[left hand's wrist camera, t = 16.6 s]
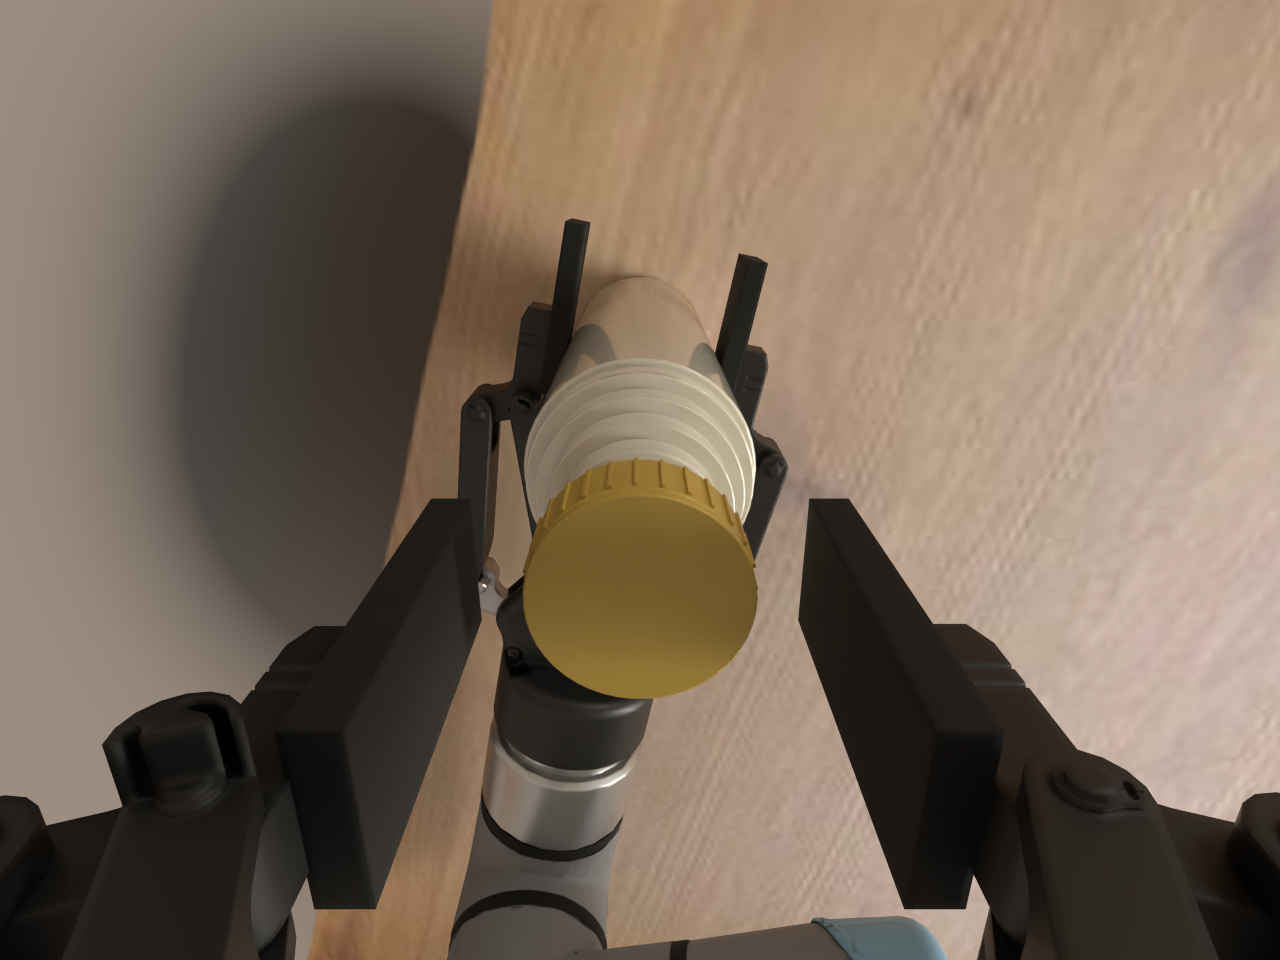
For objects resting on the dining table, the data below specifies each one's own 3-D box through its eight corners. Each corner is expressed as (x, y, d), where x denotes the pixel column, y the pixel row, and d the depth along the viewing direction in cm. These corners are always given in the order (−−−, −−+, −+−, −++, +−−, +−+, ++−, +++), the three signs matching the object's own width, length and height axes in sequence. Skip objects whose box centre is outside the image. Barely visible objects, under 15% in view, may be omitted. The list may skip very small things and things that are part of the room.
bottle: (612, 252, 34) (563, 371, 12) (724, 314, 35) (868, 527, 13) (557, 366, 36) (426, 647, 14) (664, 420, 37) (701, 763, 15)
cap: (529, 638, 16) (516, 694, 14) (536, 447, 14) (522, 482, 12) (732, 653, 16) (743, 709, 14) (761, 464, 14) (777, 502, 12)
